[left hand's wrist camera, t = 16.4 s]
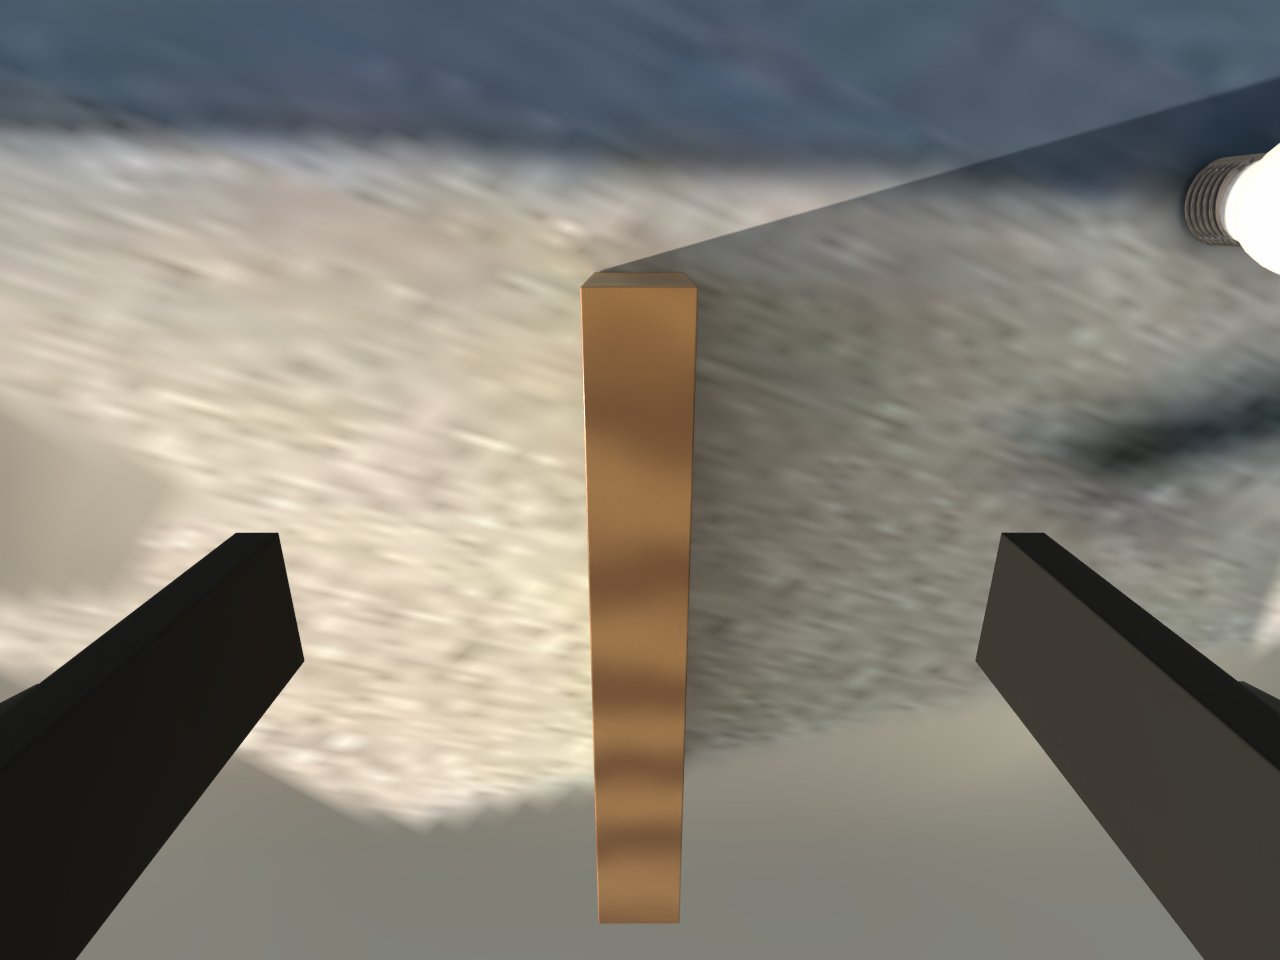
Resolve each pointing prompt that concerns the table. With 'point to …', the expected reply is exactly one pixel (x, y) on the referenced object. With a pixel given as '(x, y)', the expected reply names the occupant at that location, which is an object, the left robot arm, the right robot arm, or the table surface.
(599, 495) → the bar
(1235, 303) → the table surface
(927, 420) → the table surface
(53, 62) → the table surface
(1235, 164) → the light bulb
